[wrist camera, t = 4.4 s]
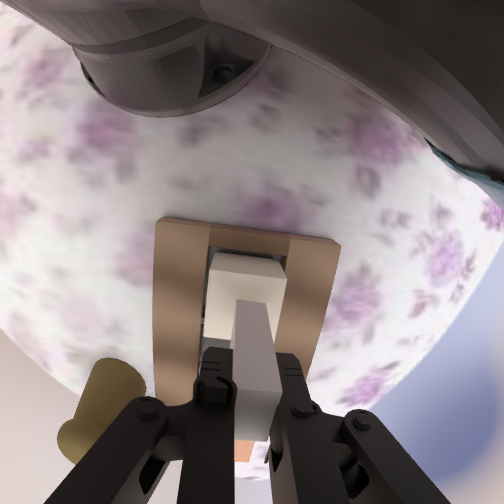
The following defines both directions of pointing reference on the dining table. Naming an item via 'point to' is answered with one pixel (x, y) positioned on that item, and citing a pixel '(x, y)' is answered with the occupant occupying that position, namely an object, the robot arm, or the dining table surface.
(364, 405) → the dining table surface
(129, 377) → the pepper shaker
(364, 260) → the dining table surface
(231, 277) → the cream cube
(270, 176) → the dining table surface
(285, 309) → the wooden slotted tray
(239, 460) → the key terracotta
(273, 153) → the dining table surface
